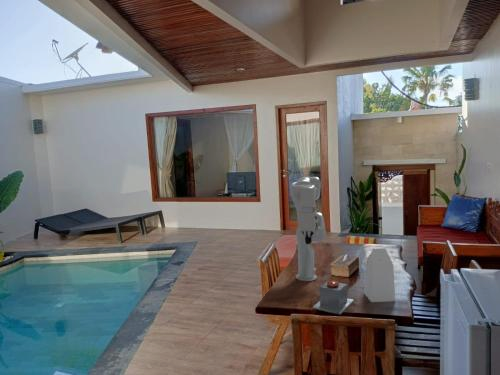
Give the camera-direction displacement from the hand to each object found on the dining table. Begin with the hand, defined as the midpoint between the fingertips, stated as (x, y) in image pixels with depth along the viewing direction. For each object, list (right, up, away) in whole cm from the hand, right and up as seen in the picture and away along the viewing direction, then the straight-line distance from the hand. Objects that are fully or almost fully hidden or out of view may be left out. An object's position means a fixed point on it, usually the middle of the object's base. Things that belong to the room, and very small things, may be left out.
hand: (308, 243), depth 210 cm
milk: (+36, -27, -7) cm, 45 cm away
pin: (+10, -26, -15) cm, 32 cm away
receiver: (+10, -28, -15) cm, 34 cm away
